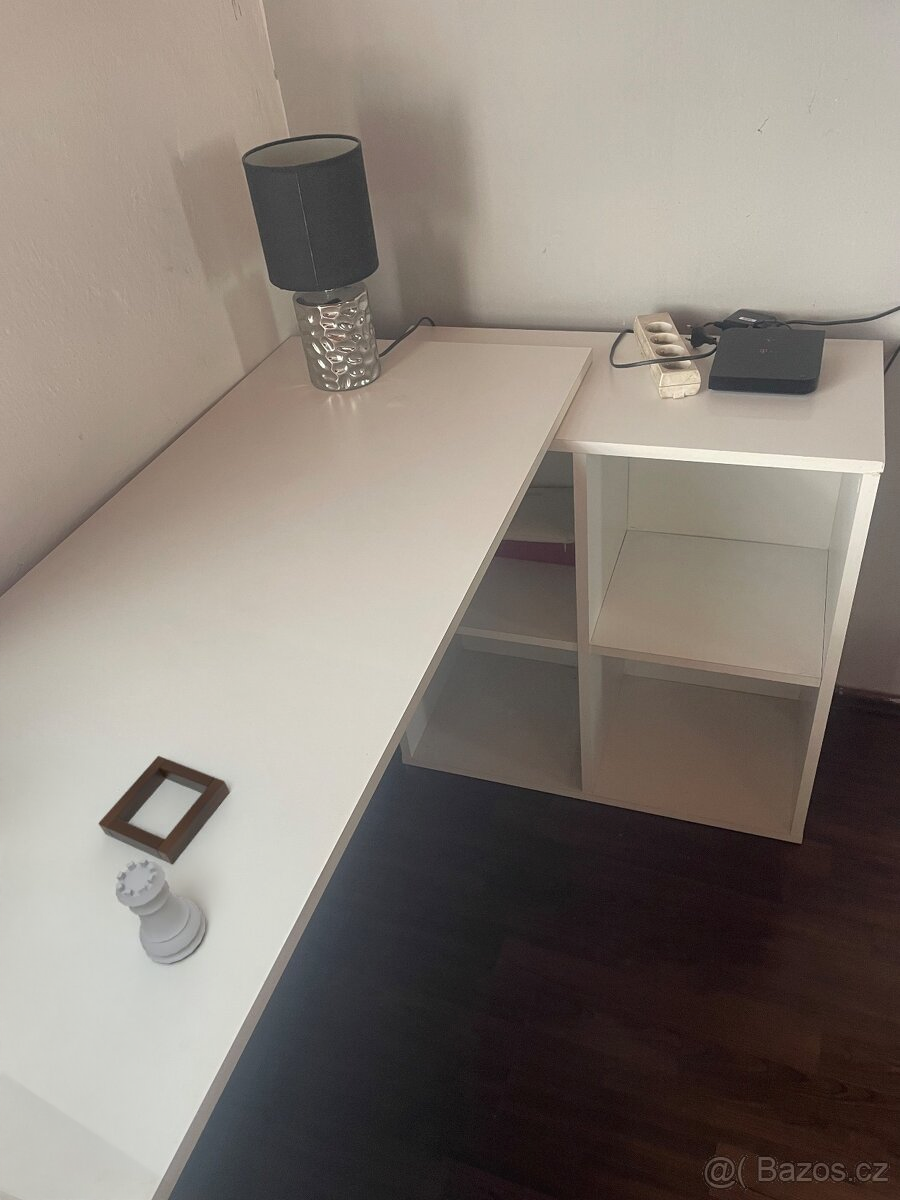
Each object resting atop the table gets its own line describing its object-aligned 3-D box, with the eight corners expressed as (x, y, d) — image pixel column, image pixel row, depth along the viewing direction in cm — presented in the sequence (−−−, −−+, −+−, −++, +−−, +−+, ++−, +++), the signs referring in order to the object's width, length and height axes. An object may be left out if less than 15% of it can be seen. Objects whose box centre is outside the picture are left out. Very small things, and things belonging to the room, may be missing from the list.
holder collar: (172, 864, 66) (165, 853, 65) (105, 834, 69) (97, 823, 68) (230, 791, 71) (224, 780, 70) (164, 766, 74) (158, 755, 73)
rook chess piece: (132, 955, 61) (86, 896, 56) (169, 899, 64) (129, 838, 59) (184, 975, 59) (141, 916, 54) (219, 916, 62) (182, 855, 57)
